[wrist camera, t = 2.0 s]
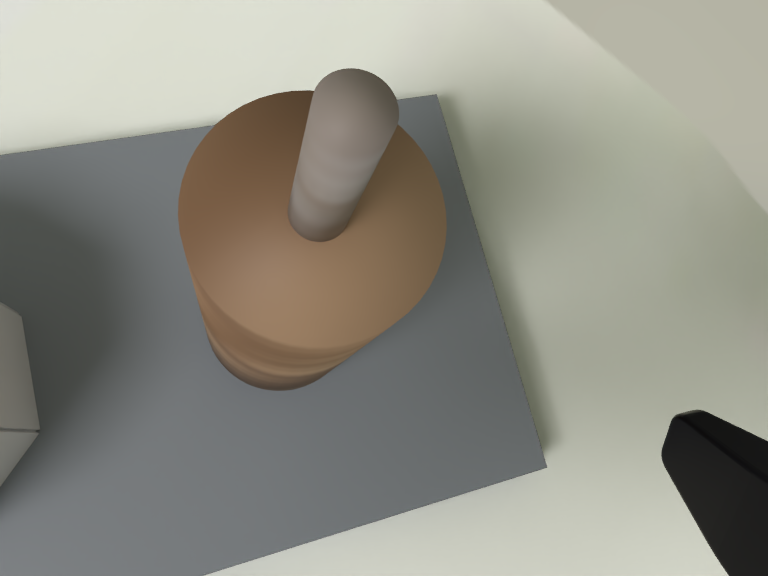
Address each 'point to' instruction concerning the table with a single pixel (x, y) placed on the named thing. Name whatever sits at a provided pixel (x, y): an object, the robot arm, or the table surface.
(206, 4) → the table surface
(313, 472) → the tool board
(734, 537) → the robot arm
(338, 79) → the brown tall cylinder
